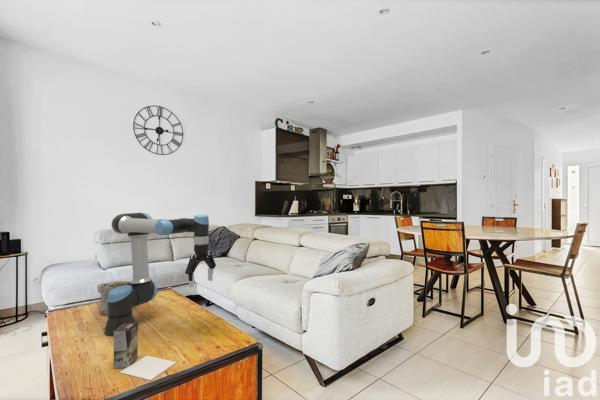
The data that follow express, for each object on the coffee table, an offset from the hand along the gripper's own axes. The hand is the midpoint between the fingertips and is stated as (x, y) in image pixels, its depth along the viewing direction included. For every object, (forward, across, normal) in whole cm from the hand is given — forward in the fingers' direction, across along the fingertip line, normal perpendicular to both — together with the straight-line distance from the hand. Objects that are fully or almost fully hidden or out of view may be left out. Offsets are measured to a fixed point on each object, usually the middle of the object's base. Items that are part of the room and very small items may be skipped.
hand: (201, 283), depth 161 cm
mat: (+27, -34, -3) cm, 44 cm away
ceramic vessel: (+28, +4, +75) cm, 80 cm away
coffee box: (+28, -35, +10) cm, 46 cm away
